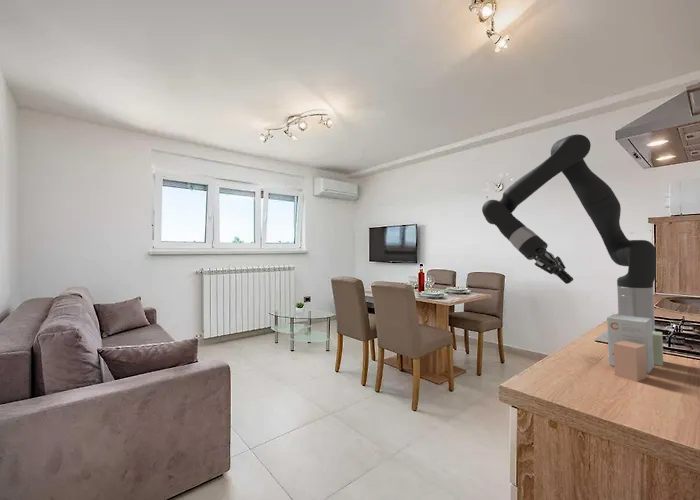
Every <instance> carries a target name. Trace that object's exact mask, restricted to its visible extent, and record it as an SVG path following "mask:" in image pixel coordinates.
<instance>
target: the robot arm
mask: <svg viewBox="0 0 700 500" xmlns="http://www.w3.org/2000/svg"><path fill="white" fill-rule="evenodd" d="M590 150H591V141H590V139H589V138H588V137H587V136H585V135H583V134H577V133H576V134H571V135H567V136H566V137H563V138H561V139H558V140H557V141H556V142H554V143H553V145H552V146H551V149H550V155H549V157H548V158H546V160H544V161H543V162H541V163H540V164H539V165H538V166H536V167H534V169H531V170H530V171H529V172H527V173H526V174H524V175H523V176H522V177H520V178H519V179H517V180H516V181H514V183H512V184H511V185H510V186H509V187H508V188H506V189H505V190H504V191H503V193H502V197H501V199H500V200H497V199H489V200H487V201H485V202H484V203H483V205H482V207H481V212H482V215H483V216H484V218H485V220H486V221H487V222H488V224H490V225H495V226H496V227H497V229H498V230H499V232H500V233H501V234H502V235H503V236H504V238H506V239H507V241H509V242H510V243H511V245H512V246H513V247H514V248H515V249H516V250H517V251H519V253H520V254H522V256H523V257H524V258H526V259H527V260H529V261H533V260H534V261H536V262H535V263H534V266H535V267H538V268H540V269H541V270H543V271H544V272H545V273H546V272H547V273H548V274H550V275H554V276H557V278H559V279H560V280H561V281H563V283H565V284H567V285H568V284H571V283H572V282H573V281H574V278H573V277H572V276H571V275H570V274H569V272H567V271H566V266H565V264H564V262H563V261H562V259H561V258H560V257H559V255H558V256H556V257H555V255H554V254H553V253H551V252H549V251H547V248H548V246H549V244H548V243H547V242H546V241H545V240H544V239H542V238H541V237H540V236H539V235H538V234H536V233H535V231H533V230H531V229H530V228H529V227H527V226H526V225H525V224H524V223H523V222H521V221H520V220H519V219H518V218H517V217H516V216H515V215H513V212H514V211H515V210H516V208H517V207H518V206H520V204H522V203H524V202H525V201H526V200H527V199H528V198H529V197H530V196H532V195H533V194H534V193H535V192H537V191H538V190H539V189H540V188H542V187H543V186H544V185H545V184H546V183H548V182H549V181H550V180H551V179H553V178H554V177H556V176H557V175H559V174H560V173H562V174H563V175H564V176H565V178H566V179H567V181H568V183H569V184H570V186H571V188H572V190H573V191H574V193H575V195H576V196H577V199H579V202H580V203H581V205H582V207H583V209H584V210H585V212H586V214H587V215H588V217H589V218H590V220H591V221H592V224H593V225H594V227H595V228H596V230H597V232H598V233H599V235H600V237H601V240H602V242H603V244H604V246H605V249H606V251H607V253H608V255H609V257H610V259H611V260H612V261H613V262H614V263H615V264H616V265H618V266H622V267H628V270H627V273H626V274H625V275H623V276H619V277H618V278H617V280H616V285H617V286H616V287H617V291H616V292H617V315H625V316H635V317H644V318H651V319H652V331H656V327H655V324H656V323H655V299H654V297H655V296H654V281H656V280H655V279H656V278H657V277H656V276H657V250H656V248H655V245H654V244H653V243H652V242H650V241H649V240H646V239H629V238H627V236H626V235H625V233H624V232H623V230H622V228H621V224H620V219H621V209H622V208H621V203H620V201H619V199H618V198H617V196H616V194H615V192H614V191H613V190H612V188H611V186H609V185H608V184H607V183H606V182H605V181H604V180H603V179H602V178H600V177H599V176H598V175H597V174H596V173H594V172H593V171H592V169H590V167H589V166H588V164H587V163H586V161H585V158H586V157H587V156H588V154H589V152H590Z"/></svg>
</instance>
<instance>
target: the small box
mask: <svg viewBox="0 0 700 500" xmlns="http://www.w3.org/2000/svg"><path fill="white" fill-rule="evenodd" d="M606 321H607V323H606V324H607V326H606V327H607V347H608V364H609V366H612V367H614V343H617V342H620V341H628V342H633V343H638V344H642V345H646V368H647V374H650V372H651V371H652V370H653V368H654V367H655V365H654V355H653V334H652V319H651V318H644V317H635V316H625V315H618V314H615V313H613V314H611V315H610V316H608V317H607V318H606Z"/></svg>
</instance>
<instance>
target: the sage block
mask: <svg viewBox="0 0 700 500" xmlns="http://www.w3.org/2000/svg"><path fill="white" fill-rule="evenodd" d="M652 334H653V355H654V366H655V365H656V366H660V367H663V365H664V344H663V343H664V342H663V338H664V337H663V332H662V331H656V330H655V331H652Z"/></svg>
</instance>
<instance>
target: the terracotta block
mask: <svg viewBox="0 0 700 500" xmlns="http://www.w3.org/2000/svg"><path fill="white" fill-rule="evenodd" d="M613 367H614V376H615V377H616V376H617V377H618V378H619V377H620V378H623V379H627V380H630V381H633V382H636V383H638V382H640V381H643V380H645V379H647V377H648V376H647V375H648V373H647V368H646V345H642V344H638V343H633V342H628V341H620V342H617V343H614V366H613Z"/></svg>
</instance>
